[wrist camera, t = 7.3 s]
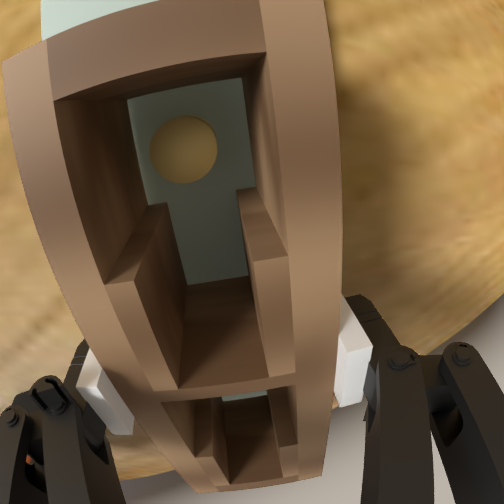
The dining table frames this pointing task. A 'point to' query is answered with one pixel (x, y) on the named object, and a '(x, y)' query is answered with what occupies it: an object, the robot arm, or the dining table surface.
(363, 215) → the dining table surface
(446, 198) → the dining table surface
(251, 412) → the divided compartment tray
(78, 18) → the board
